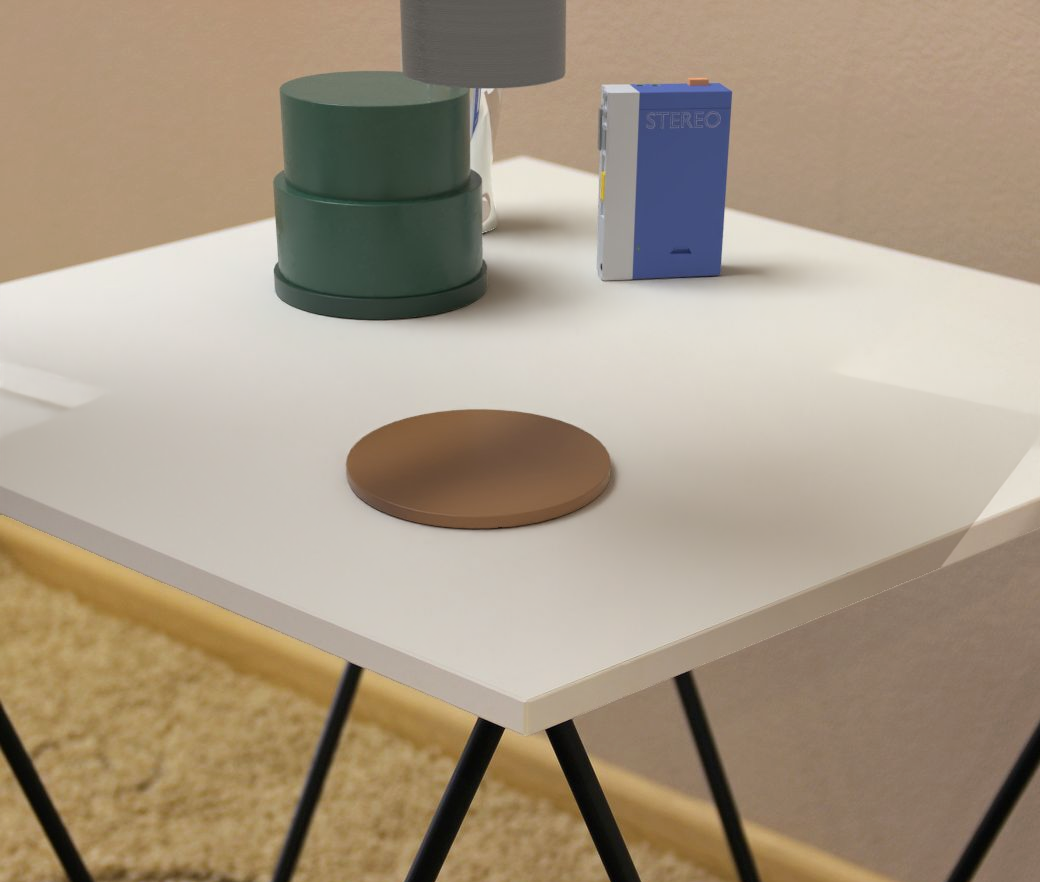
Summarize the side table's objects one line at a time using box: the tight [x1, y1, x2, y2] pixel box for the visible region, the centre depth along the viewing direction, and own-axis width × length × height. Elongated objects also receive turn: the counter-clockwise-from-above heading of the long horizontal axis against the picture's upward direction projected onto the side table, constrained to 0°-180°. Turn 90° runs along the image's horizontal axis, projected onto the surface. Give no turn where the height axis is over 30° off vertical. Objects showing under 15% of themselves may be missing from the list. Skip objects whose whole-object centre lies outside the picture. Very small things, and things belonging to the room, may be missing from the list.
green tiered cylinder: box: [272, 70, 489, 320], centre depth 91 cm, size 13×13×12 cm
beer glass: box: [399, 35, 504, 232], centre depth 104 cm, size 7×7×15 cm
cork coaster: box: [345, 408, 612, 529], centre depth 69 cm, size 12×12×1 cm
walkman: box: [596, 77, 733, 281], centre depth 95 cm, size 8×3×12 cm, turn 102°
